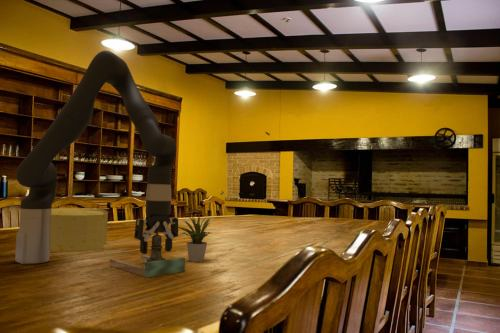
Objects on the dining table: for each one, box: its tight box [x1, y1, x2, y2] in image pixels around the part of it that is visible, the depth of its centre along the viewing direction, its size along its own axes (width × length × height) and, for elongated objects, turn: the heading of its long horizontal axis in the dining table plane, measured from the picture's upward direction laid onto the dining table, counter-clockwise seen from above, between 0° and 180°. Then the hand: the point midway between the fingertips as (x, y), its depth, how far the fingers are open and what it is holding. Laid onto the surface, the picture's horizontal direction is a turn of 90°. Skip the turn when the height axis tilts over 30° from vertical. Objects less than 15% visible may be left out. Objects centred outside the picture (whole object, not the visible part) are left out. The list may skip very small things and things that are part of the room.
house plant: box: [178, 214, 212, 263], centre depth 149 cm, size 14×14×16 cm
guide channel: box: [109, 254, 186, 278], centre depth 132 cm, size 13×22×4 cm, turn 47°
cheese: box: [50, 207, 109, 253], centre depth 171 cm, size 26×26×15 cm
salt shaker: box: [146, 232, 166, 262], centre depth 128 cm, size 6×6×12 cm
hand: (156, 252), depth 128 cm, fingers open, 8 cm apart
